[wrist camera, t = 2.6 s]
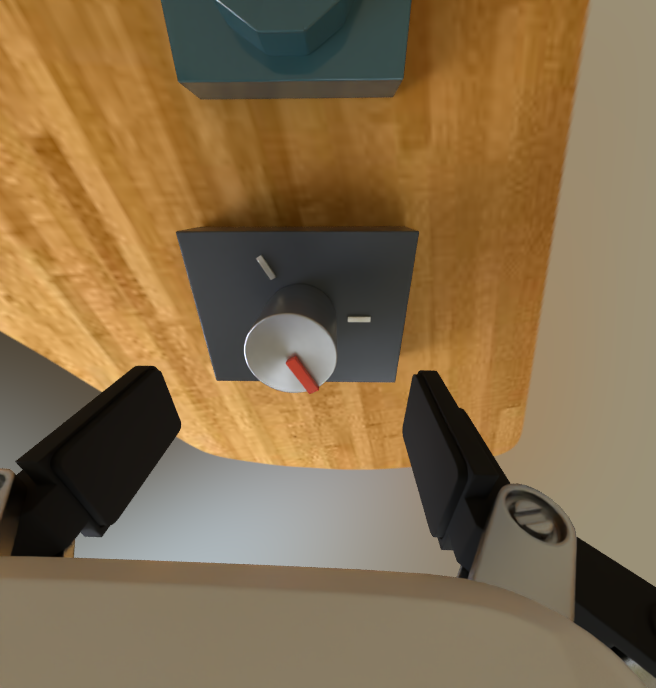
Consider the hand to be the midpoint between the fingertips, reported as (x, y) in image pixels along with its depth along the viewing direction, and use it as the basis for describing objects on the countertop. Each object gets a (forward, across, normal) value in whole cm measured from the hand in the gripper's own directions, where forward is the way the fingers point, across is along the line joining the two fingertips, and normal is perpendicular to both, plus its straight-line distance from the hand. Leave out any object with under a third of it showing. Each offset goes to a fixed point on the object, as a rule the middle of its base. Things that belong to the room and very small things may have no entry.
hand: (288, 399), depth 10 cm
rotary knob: (+7, 0, 0) cm, 7 cm away
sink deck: (+10, 0, 0) cm, 10 cm away
